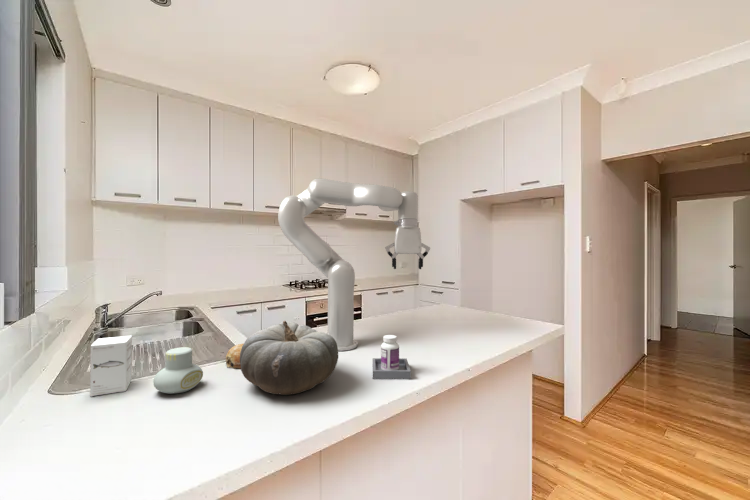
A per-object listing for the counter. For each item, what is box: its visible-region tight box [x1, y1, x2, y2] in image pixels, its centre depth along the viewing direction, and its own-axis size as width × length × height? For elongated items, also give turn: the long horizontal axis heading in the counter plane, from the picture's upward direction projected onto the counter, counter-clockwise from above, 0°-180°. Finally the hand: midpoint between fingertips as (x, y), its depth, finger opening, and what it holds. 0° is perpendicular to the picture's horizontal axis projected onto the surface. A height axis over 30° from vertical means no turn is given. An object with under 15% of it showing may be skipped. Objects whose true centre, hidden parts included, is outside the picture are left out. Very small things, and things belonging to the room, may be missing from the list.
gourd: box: [240, 320, 339, 396], centre depth 89 cm, size 25×25×17 cm
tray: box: [372, 357, 412, 380], centre depth 98 cm, size 11×11×2 cm
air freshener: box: [152, 346, 204, 395], centre depth 85 cm, size 11×8×10 cm
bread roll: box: [225, 342, 245, 370], centre depth 104 cm, size 10×10×8 cm
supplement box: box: [89, 335, 133, 397], centre depth 85 cm, size 7×7×13 cm
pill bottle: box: [380, 334, 400, 370], centre depth 98 cm, size 5×5×10 cm
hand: (407, 268), depth 127 cm, fingers open, 9 cm apart
